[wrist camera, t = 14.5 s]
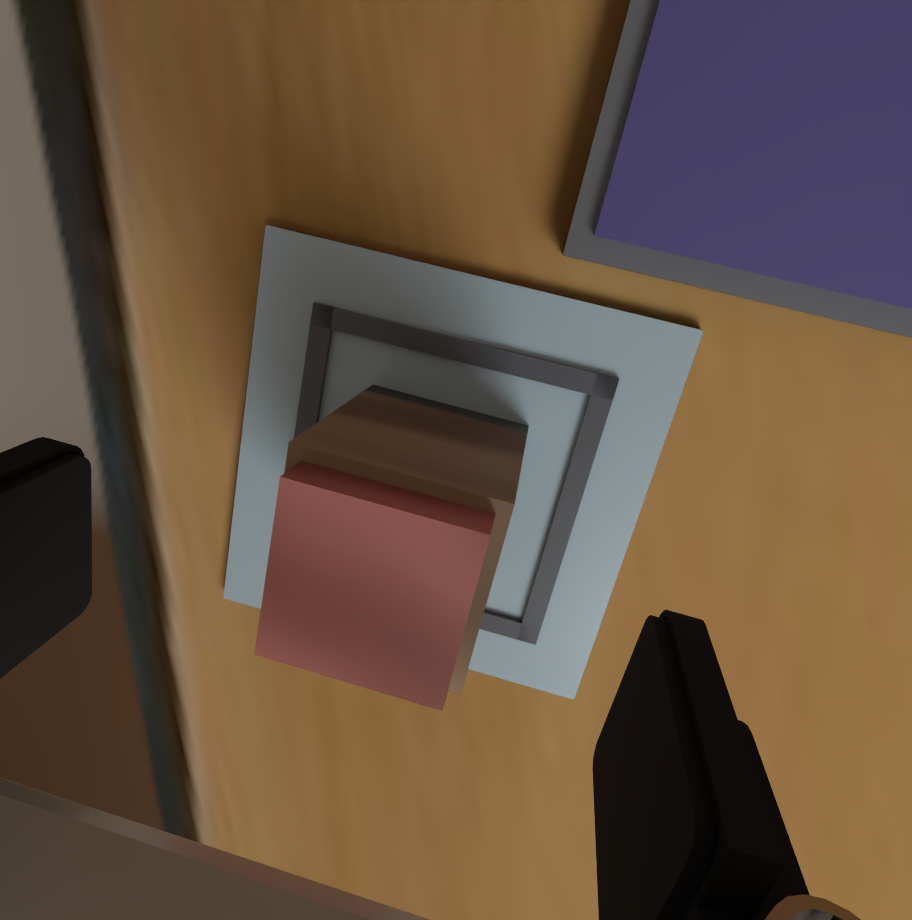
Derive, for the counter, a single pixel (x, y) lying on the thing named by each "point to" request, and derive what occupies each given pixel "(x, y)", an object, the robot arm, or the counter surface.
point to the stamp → (389, 542)
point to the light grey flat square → (478, 389)
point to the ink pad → (760, 154)
